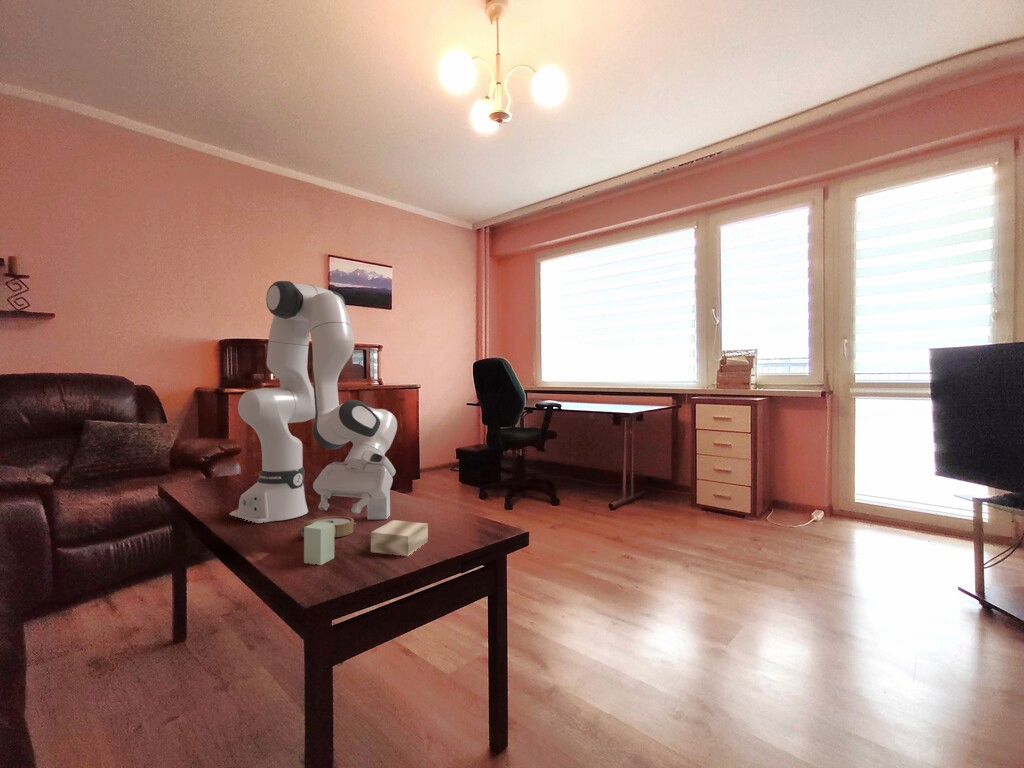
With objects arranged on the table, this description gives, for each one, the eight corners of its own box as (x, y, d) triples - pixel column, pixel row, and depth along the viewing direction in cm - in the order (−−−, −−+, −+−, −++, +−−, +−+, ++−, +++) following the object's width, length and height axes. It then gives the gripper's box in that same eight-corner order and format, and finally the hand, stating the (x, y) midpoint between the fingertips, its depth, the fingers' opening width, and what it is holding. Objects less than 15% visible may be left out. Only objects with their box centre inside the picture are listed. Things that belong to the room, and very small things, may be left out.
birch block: (370, 553, 106) (370, 532, 106) (393, 539, 116) (393, 520, 116) (408, 557, 104) (408, 536, 104) (427, 543, 113) (427, 523, 113)
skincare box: (390, 515, 136) (390, 476, 136) (386, 520, 132) (387, 479, 132) (370, 515, 136) (370, 476, 136) (365, 520, 131) (366, 479, 131)
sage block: (304, 562, 100) (304, 527, 100) (318, 555, 104) (318, 521, 104) (320, 565, 99) (320, 529, 99) (334, 557, 103) (334, 523, 103)
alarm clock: (363, 518, 124) (325, 524, 110) (361, 537, 123) (322, 545, 109) (330, 514, 128) (289, 520, 114) (328, 532, 127) (286, 540, 113)
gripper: (324, 454, 117) (296, 500, 108) (392, 457, 111) (368, 506, 102) (335, 468, 122) (309, 514, 112) (401, 472, 116) (379, 520, 106)
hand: (338, 510), depth 107 cm, fingers open, 8 cm apart
